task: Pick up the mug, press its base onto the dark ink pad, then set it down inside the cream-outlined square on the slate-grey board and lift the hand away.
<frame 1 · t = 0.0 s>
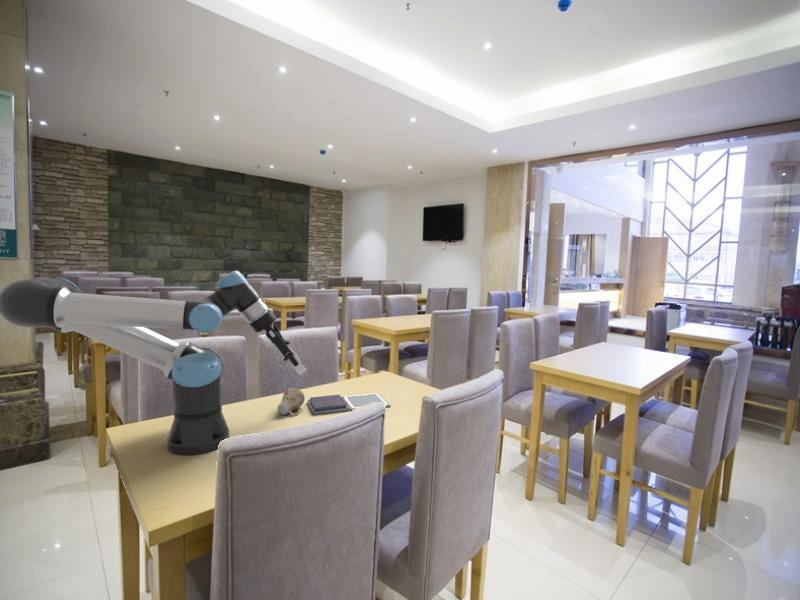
hand: (300, 367, 133), 15 cm above the table, fingers open, 13 cm apart
marked board: (365, 402, 146), on the table
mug: (290, 411, 136), on the table
ink pad: (327, 406, 141), on the table
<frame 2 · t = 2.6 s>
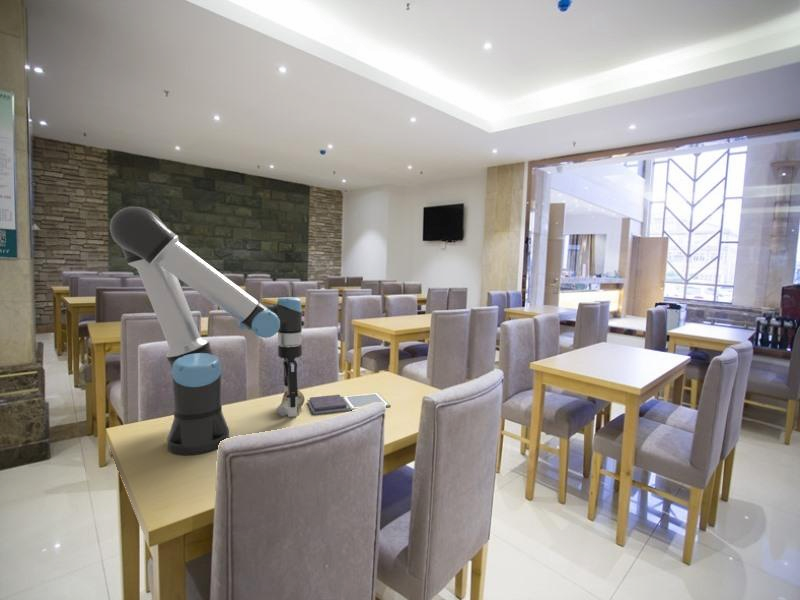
hand: (290, 410, 136), 0 cm above the table, fingers open, 10 cm apart
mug: (290, 413, 135), on the table, touching gripper
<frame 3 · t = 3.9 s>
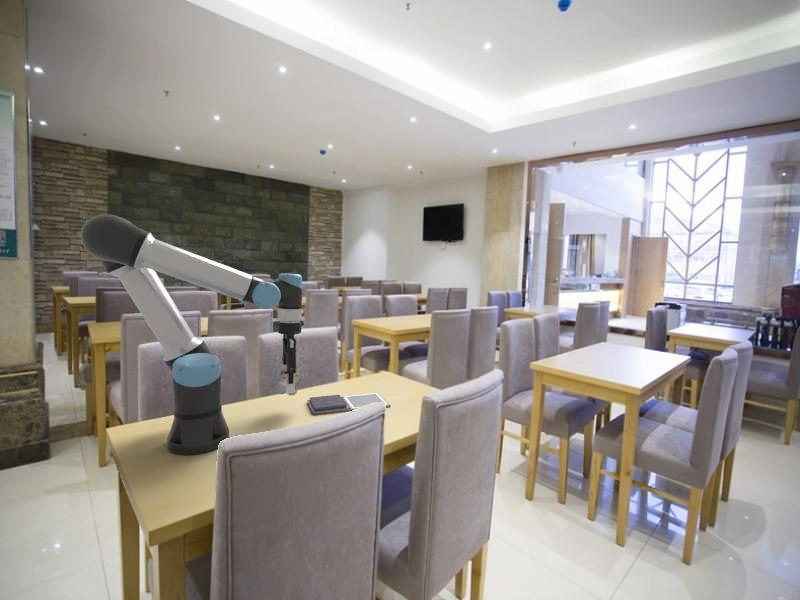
hand: (288, 388, 135), 8 cm above the table, fingers closed on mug, 10 cm apart
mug: (287, 391, 134), point 7 cm above the table, touching gripper
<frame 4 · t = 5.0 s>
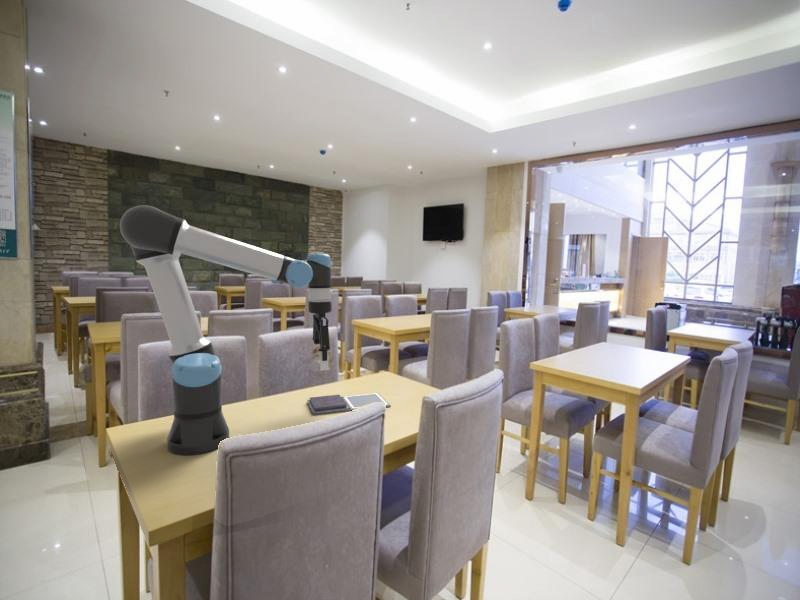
hand: (321, 366, 138), 14 cm above the table, fingers closed on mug, 10 cm apart
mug: (320, 369, 138), point 13 cm above the table, touching gripper
when the fingers open (3 cm above the table, at t = 6.7 s): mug stays where it is, resting on ink pad.
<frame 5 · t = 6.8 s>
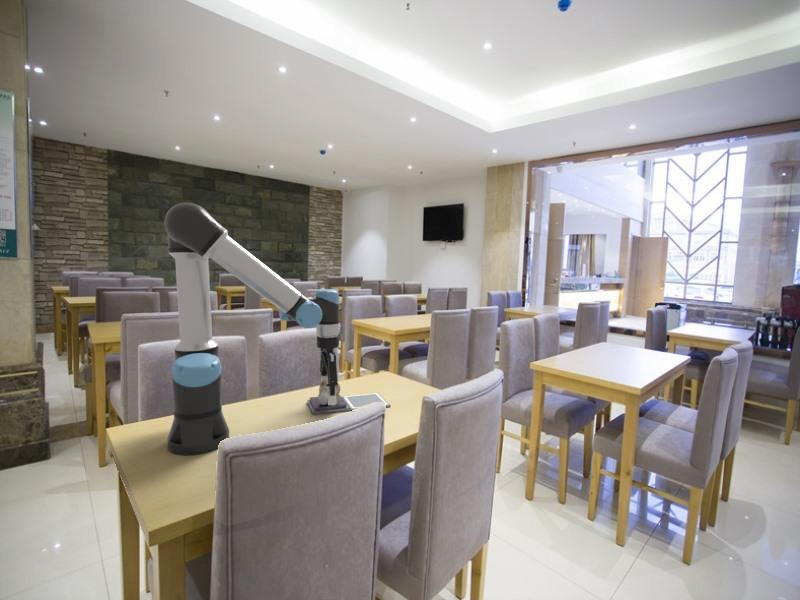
hand: (328, 398, 141), 3 cm above the table, fingers open, 10 cm apart
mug: (327, 402, 140), point 2 cm above the table, touching gripper, ink pad
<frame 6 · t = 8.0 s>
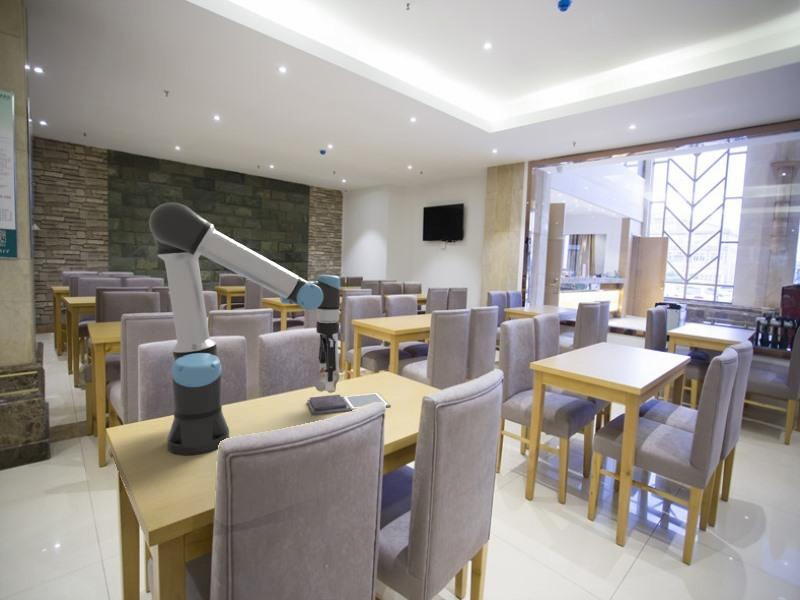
hand: (326, 385, 140), 7 cm above the table, fingers closed on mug, 10 cm apart
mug: (326, 389, 139), point 6 cm above the table, touching gripper
when the fingers open (2 cm above the table, at t = 12.1 s): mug stays where it is, resting on marked board.
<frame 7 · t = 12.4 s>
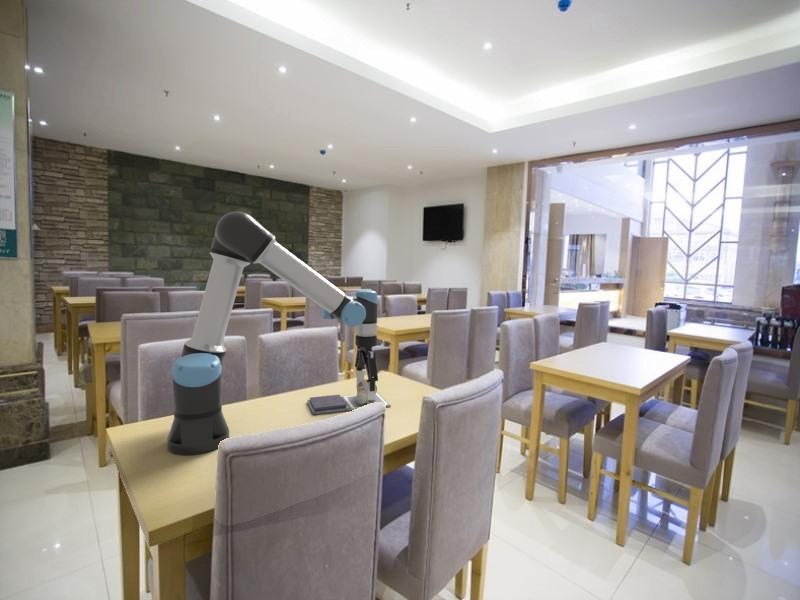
hand: (365, 393, 145), 3 cm above the table, fingers open, 13 cm apart
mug: (365, 401, 145), resting on marked board
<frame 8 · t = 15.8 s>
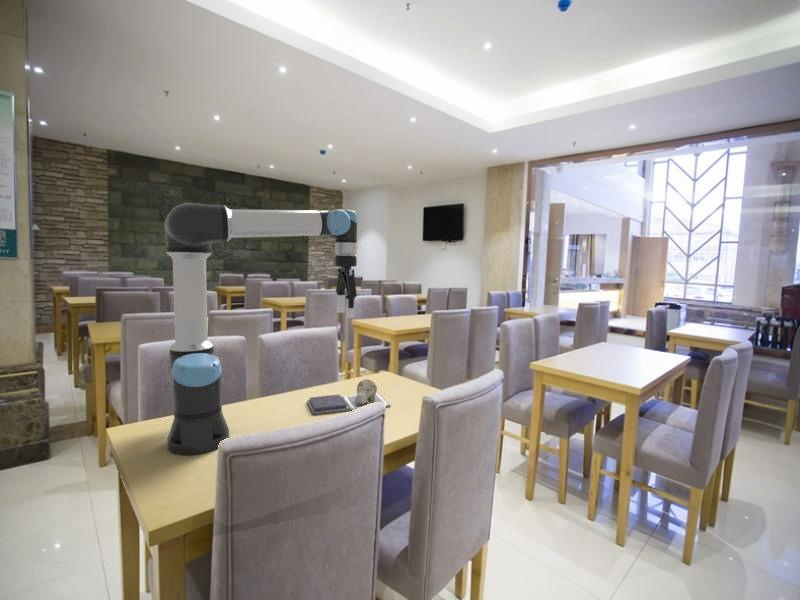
hand: (345, 315, 146), 31 cm above the table, fingers open, 13 cm apart
nothing on the table moved.
at the end: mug inside the target area on the marked board (0.7 cm from its centre), point 0.4 cm above the marked board's base; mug tilted 2°; the gripper is holding nothing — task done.
